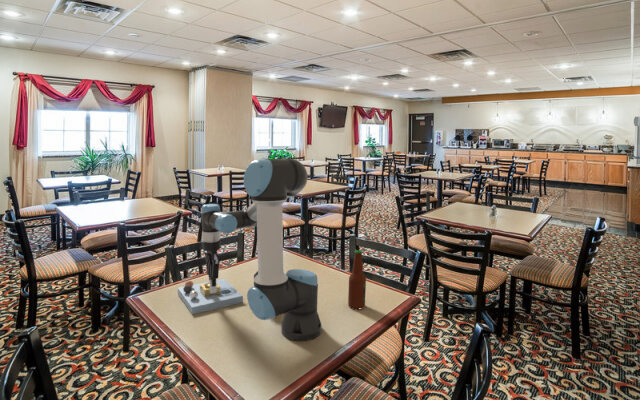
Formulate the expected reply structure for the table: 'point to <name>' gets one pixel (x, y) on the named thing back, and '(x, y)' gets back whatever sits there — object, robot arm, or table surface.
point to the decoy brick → (189, 283)
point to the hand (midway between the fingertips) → (213, 292)
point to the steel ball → (193, 295)
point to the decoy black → (187, 289)
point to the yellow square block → (205, 289)
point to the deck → (211, 297)
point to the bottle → (357, 283)
